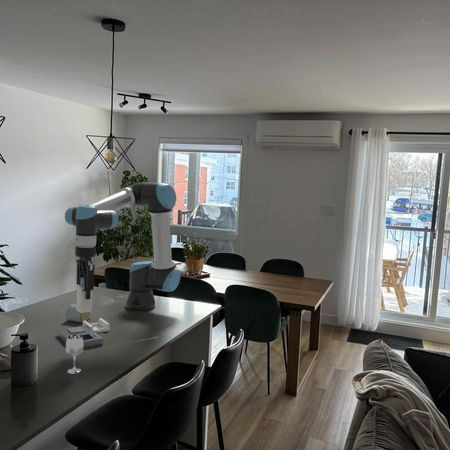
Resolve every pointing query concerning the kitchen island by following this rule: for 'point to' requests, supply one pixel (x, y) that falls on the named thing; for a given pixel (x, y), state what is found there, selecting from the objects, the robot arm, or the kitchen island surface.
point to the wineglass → (74, 350)
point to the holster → (98, 325)
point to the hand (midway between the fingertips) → (84, 305)
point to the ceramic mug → (76, 314)
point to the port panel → (87, 334)
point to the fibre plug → (80, 298)
